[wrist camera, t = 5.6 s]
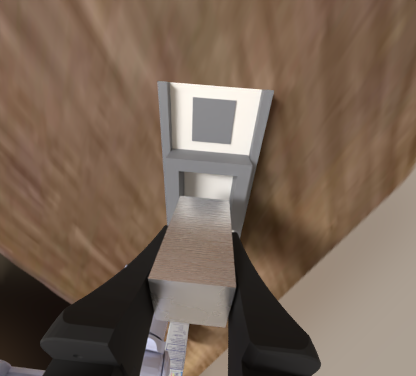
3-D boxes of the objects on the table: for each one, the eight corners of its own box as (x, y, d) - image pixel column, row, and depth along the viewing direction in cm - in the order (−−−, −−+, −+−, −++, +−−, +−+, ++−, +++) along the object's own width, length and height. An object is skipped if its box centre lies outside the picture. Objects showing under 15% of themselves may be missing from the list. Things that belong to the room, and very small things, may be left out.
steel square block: (180, 231, 16) (155, 319, 10) (180, 195, 14) (147, 278, 8) (223, 235, 16) (225, 327, 9) (229, 200, 14) (236, 287, 7)
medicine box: (171, 315, 39) (159, 369, 31) (190, 318, 39) (183, 372, 31) (171, 330, 43) (160, 381, 35) (188, 332, 43) (181, 384, 35)
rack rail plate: (171, 235, 26) (163, 257, 22) (162, 82, 16) (147, 79, 12) (236, 242, 25) (238, 264, 22) (269, 90, 15) (283, 90, 12)
